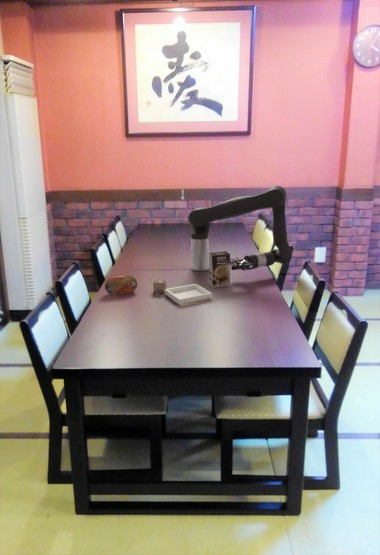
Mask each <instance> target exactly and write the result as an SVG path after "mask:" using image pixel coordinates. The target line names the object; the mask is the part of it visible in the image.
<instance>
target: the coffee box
mask: <svg viewBox="0 0 380 555" xmlns="http://www.w3.org/2000/svg"><path fill="white" fill-rule="evenodd" d="M230 259H231V254H230V253H229V252H227V251H216V252H215V251H213V252H209V269H208V284H209V286H210V287H211V288H212V289H213V288H221V287H230V286H231V265H230Z"/></svg>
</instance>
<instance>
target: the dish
mask: <svg viewBox="0 0 380 555" xmlns="http://www.w3.org/2000/svg"><path fill="white" fill-rule="evenodd" d="M164 295H165V296H166V297H167V298H169V299H171V301H173V302H175V303H176V304H177V305H179V306H180V305H183V304H188V303H193V302H198V301H203V300H208V299H212V300H213V292H211V291H209V290H207V289H205V288H204V287H202V286H200V285H198V284H197V283H192V284H185V285H181V286H180V285H179V286H175V287H170V288H166V289H165V293H164Z"/></svg>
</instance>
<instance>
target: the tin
mask: <svg viewBox="0 0 380 555" xmlns="http://www.w3.org/2000/svg"><path fill="white" fill-rule="evenodd" d="M137 287H138V280H137V279H136V278H135V277H133V275H129V274H128V275H127V274H126V275H121V276H112V277H111V276H110V277H109V278H107V280H106V281H105V283H104V289H105V292H107V294H108V295H111V296H115V295H114V294H119V295H126V294H125V293H127V294H131V293H133V292H135V291H136V289H138V288H137Z"/></svg>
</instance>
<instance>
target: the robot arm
mask: <svg viewBox="0 0 380 555" xmlns="http://www.w3.org/2000/svg"><path fill="white" fill-rule="evenodd" d="M286 199H287V191H286V190H285V188H284V187H283V186H281V185H274V186H272V187H271V188H270V189H269V190H267V191H265V192H262V193H259V194H255V195H249V196H248V195H245V196H238V197H234V198H231V199H228V200H224V201H221V202H220V203H218V204H217V203H216V205H213V206H210V207H203V206H202V207H201V206H200V207H196V208H194V209H192V210H191V211H190V212H189V214H188V217H187V220H188V222H189V224H190V225H191V226H192V230H191V233H190V242H191V243H190V244H191V269H192V270H193V271H196V272H200V271H201V272H202V271H209V253H210V250H209V248H210V247H209V234H210V223H212V222H214V221H220V220H226V219H232V218H236V217H241V216H244V215H246V214H249V213H253V212H256V211H259V210H265V209H271V208H272V209H271V210H272V240H273V241H272V242H273V244H274V246H275V247H276V248H275V249H272V250H269V251H268V252H266V251H265V252H257V253H252V254H246V255H245V256H244V257H243V258H239V257H232V258H231V257H230V271H236V270H239V271H240V270H242V271H247V270H248V271H250V270H257V269H261V268H264V267H270V266H273V265H274V264H275V263H279V264H281V265H288V264H290V263H291V261H292V257H293V255H292V251H291V247H290V245H289V241H288V232H287V231H288V230H287V222H286Z"/></svg>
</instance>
